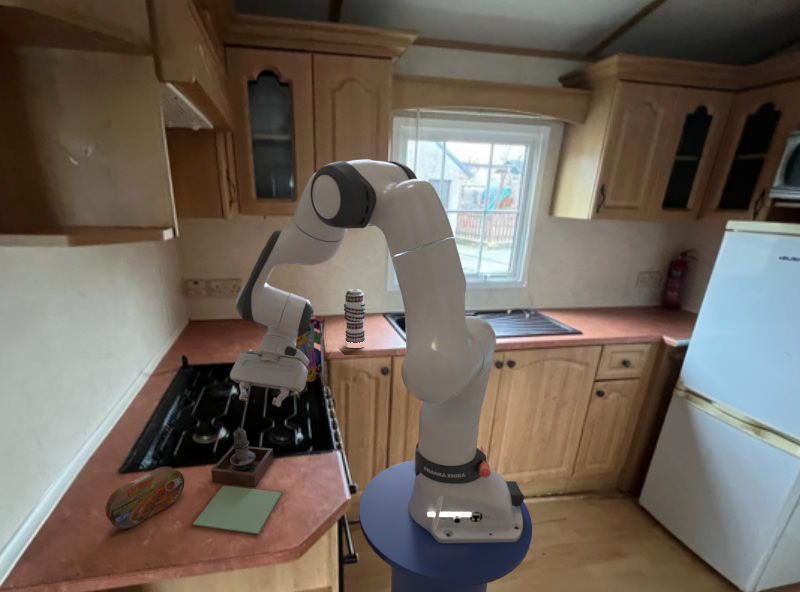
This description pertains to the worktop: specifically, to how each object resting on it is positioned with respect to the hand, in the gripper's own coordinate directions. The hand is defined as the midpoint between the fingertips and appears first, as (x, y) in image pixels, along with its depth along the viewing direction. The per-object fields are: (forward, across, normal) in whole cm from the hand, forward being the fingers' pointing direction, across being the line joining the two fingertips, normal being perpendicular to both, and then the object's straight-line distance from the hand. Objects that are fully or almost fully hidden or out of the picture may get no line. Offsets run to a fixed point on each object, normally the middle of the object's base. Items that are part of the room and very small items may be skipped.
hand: (259, 403), depth 102 cm
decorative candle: (-49, -6, +69) cm, 85 cm away
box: (-19, -14, +39) cm, 46 cm away
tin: (+29, -10, -9) cm, 32 cm away
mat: (+24, +7, -5) cm, 26 cm away
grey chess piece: (+16, 0, +4) cm, 17 cm away
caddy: (+16, 0, +4) cm, 16 cm away
